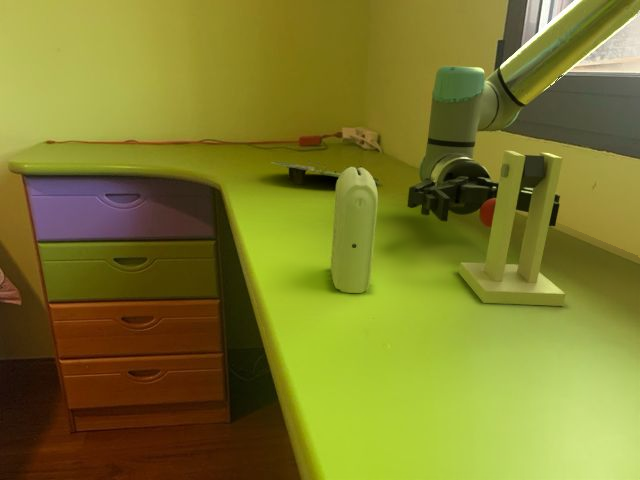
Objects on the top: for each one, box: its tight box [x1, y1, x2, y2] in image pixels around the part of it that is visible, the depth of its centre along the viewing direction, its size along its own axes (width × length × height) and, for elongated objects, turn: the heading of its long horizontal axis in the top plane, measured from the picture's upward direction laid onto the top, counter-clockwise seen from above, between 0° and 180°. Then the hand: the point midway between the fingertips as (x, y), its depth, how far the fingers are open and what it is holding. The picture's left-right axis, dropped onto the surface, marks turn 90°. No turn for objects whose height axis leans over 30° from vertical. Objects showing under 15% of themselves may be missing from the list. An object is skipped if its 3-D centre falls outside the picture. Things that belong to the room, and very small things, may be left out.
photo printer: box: [330, 166, 379, 294], centre depth 77 cm, size 10×4×12 cm, turn 2°
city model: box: [269, 160, 384, 185], centre depth 143 cm, size 25×24×6 cm
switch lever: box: [478, 154, 544, 229], centre depth 81 cm, size 15×4×4 cm
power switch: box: [458, 150, 567, 307], centre depth 77 cm, size 12×9×15 cm
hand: (500, 212), depth 84 cm, fingers open, 13 cm apart
